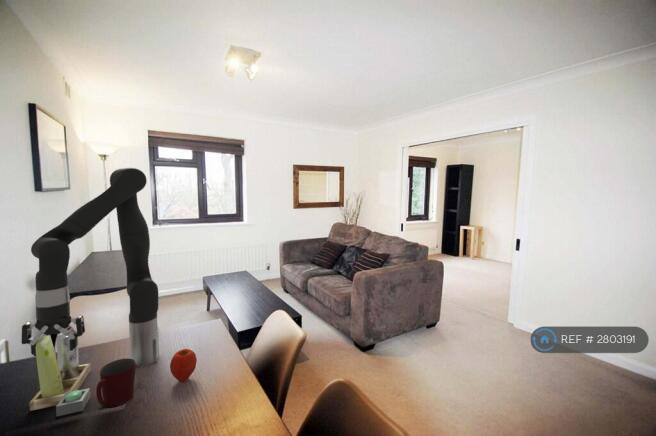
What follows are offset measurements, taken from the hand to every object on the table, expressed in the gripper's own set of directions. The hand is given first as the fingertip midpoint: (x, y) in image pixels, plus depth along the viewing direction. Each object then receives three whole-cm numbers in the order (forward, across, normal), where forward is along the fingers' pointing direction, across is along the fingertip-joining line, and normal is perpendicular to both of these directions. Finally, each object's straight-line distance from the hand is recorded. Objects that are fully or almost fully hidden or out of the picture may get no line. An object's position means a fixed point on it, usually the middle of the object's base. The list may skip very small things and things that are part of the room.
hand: (55, 352), depth 87 cm
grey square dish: (+16, +6, -7) cm, 18 cm away
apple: (+16, +36, -5) cm, 40 cm away
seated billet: (+15, 0, +8) cm, 17 cm away
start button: (+14, +6, -7) cm, 17 cm away
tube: (+14, -1, 0) cm, 15 cm away
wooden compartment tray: (+16, 0, +4) cm, 16 cm away
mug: (+16, +17, -9) cm, 25 cm away
